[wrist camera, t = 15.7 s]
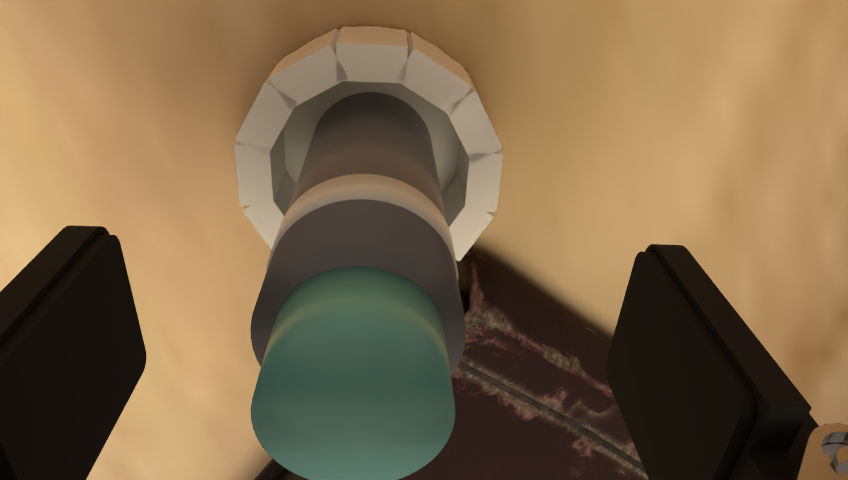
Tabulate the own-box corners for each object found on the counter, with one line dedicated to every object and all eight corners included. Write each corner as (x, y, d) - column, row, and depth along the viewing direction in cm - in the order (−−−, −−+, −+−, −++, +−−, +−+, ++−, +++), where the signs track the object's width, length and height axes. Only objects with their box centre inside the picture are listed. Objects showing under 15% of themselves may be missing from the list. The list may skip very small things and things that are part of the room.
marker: (308, 87, 19) (205, 309, 8) (437, 92, 19) (497, 314, 9) (312, 205, 21) (234, 505, 10) (429, 208, 21) (470, 503, 11)
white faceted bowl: (245, 19, 18) (222, 37, 16) (499, 31, 19) (516, 51, 16) (264, 243, 22) (248, 287, 19) (475, 248, 22) (486, 291, 20)
